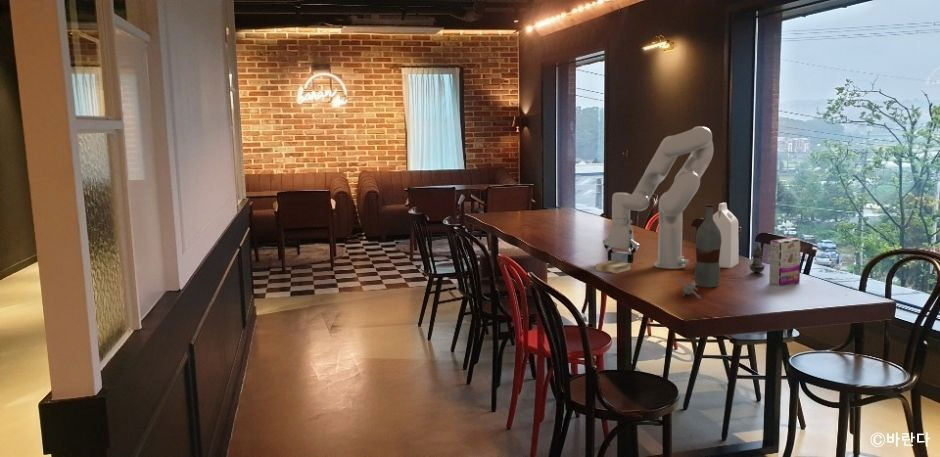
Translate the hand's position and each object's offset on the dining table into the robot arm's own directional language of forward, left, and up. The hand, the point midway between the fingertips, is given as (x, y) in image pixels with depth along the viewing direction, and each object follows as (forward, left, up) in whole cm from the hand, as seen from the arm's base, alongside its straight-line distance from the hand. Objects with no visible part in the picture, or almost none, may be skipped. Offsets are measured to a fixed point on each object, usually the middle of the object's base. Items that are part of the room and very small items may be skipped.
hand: (620, 261), depth 306 cm
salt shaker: (-51, -18, -2) cm, 54 cm away
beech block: (-3, +10, -2) cm, 11 cm away
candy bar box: (-65, -9, -2) cm, 66 cm away
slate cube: (0, 0, -2) cm, 2 cm away
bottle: (-45, +12, -2) cm, 47 cm away
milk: (-31, -29, -2) cm, 42 cm away
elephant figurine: (-49, +34, -2) cm, 59 cm away
